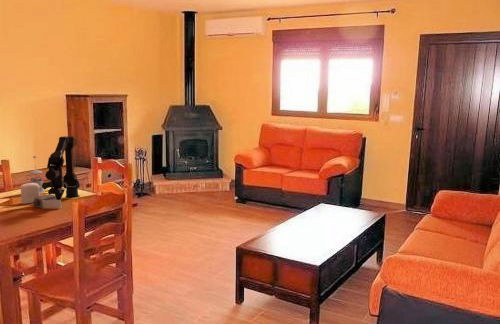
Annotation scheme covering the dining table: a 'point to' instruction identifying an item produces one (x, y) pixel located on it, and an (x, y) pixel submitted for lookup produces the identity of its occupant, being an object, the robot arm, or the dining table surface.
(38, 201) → the camera body
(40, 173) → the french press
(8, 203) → the dining table surface
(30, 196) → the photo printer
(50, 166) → the robot arm
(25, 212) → the dining table surface
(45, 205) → the side door
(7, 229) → the dining table surface
